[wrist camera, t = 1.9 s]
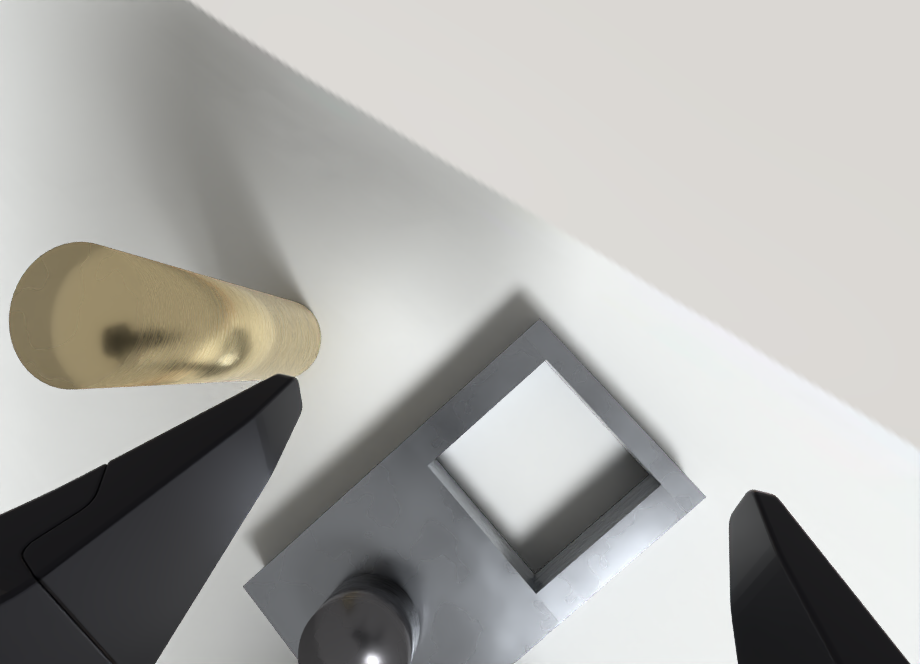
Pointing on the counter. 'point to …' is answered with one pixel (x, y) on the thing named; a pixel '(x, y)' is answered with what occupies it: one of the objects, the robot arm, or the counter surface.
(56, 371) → the brass cylinder
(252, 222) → the counter surface
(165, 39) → the counter surface
